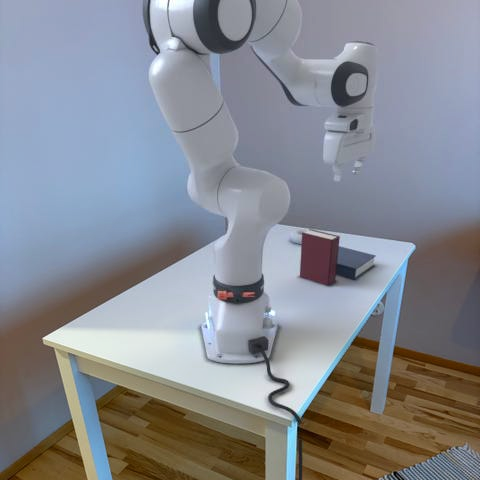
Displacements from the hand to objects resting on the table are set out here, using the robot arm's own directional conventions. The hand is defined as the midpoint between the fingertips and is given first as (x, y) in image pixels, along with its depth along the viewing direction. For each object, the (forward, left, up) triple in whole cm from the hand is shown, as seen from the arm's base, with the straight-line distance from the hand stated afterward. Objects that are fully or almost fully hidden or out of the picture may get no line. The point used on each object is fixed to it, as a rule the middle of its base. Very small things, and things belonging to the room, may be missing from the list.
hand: (347, 177), depth 120 cm
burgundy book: (+4, +5, -31) cm, 31 cm away
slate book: (+14, -3, -31) cm, 34 cm away
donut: (+36, +6, -31) cm, 48 cm away
